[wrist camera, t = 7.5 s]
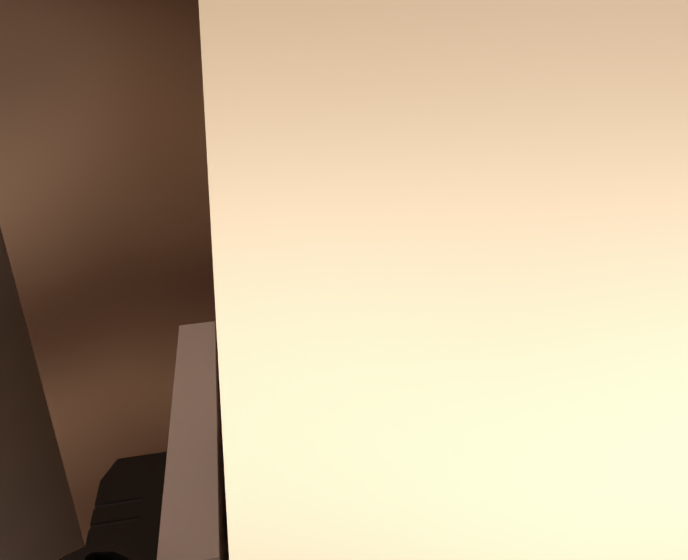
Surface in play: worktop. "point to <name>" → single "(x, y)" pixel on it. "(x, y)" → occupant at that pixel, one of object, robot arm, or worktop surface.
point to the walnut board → (105, 215)
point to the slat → (450, 276)
